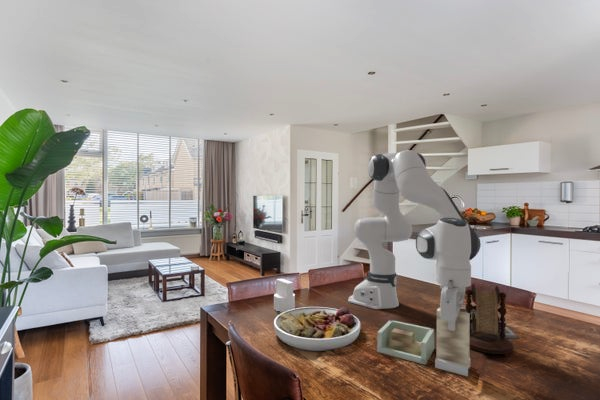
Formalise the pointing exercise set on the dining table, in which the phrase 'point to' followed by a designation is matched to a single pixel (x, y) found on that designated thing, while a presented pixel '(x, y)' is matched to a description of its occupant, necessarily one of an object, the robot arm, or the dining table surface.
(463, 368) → the holder
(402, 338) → the offcut short
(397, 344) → the offcut long
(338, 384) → the dining table surface
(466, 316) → the beige streaked board
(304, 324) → the bowl
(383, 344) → the box
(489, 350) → the scroll
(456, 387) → the dining table surface
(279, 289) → the base with upright slab
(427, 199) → the robot arm
